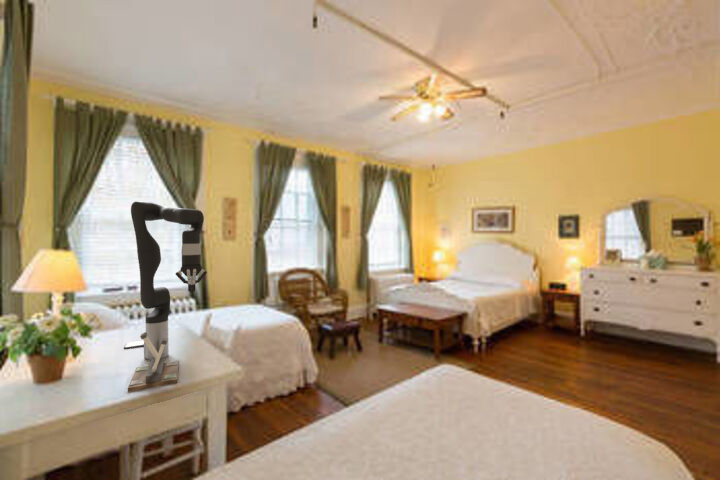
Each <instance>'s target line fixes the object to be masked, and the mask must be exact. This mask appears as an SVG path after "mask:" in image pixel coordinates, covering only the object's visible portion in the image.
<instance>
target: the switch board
mask: <svg viewBox="0 0 720 480" xmlns="http://www.w3.org/2000/svg"><path fill="white" fill-rule="evenodd" d="M165 360H166V357H163V358H160V360H159V363H158V365H157V369H156V372H155V373H151V370H152V367H153V366H154V363H155V359H151V360H150V362H149V365H145V366H138V367H136V368H135V370H134V373H133V374H132V378H131V379H130V381H129V384H128V387H127V392H128V393H131V392H134V391H135V392H136V391H140V390H141V391H142V390H146V389H151V388H152V389H153V388H157V387H162V386H167V385H172V384H177V383H178V379H179V378H178V377H179V368H180V360H174V361H168V362H166V361H165Z"/></svg>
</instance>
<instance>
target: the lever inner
mask: <svg viewBox="0 0 720 480" xmlns="http://www.w3.org/2000/svg"><path fill="white" fill-rule="evenodd" d="M147 335H148V334H147V333H146V331H145V332H143V333H141V334H140V336H139V337H140V339H141V340H142V341H143V340H144V342H145V343H146V345H147V347H148V348H149V350H150V352H151V353H152V355H153V356H154V358H155V360H156V358H157V355H158V352H157V351H156V349H155V347H154V346H153V344H152V343H151V341H150V339H149V338H148V336H147Z"/></svg>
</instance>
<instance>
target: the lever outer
mask: <svg viewBox="0 0 720 480" xmlns="http://www.w3.org/2000/svg"><path fill="white" fill-rule="evenodd" d="M167 341H168V342H169V337H168V338H163V339H162V342H161V347H160V350H159V352H158V355H157V358H156V360H155V363H154V366H153V367H152V370H151V373H155V372H156V369H157V365H158V363H159V360H160V357H161V354H162V352H163V349H164V346H165V345H166V344H167Z"/></svg>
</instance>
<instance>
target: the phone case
mask: <svg viewBox="0 0 720 480" xmlns="http://www.w3.org/2000/svg"><path fill="white" fill-rule="evenodd" d="M130 348H131V349H137V348H144V340H143V339H142V340H138V341H137V340H136V341H131V342H126V343H125V345H124V346H123V350H130Z"/></svg>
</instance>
